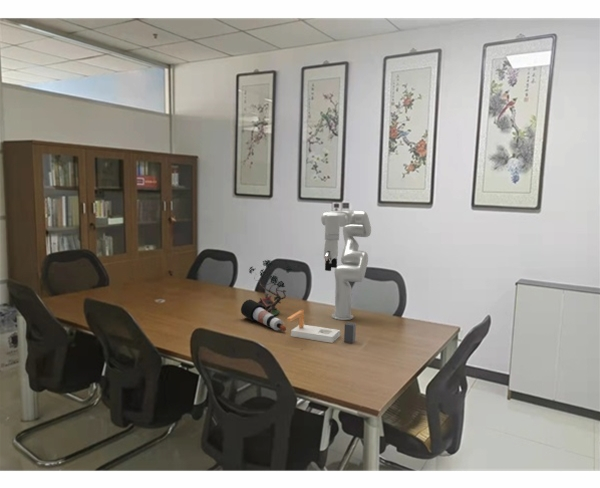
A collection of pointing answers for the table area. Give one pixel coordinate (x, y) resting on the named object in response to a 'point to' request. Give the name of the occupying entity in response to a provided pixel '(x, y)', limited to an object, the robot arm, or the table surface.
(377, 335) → the table surface
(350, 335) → the plug
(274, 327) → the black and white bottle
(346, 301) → the robot arm
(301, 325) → the orange piece
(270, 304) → the bonsai tree
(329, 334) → the socket block
